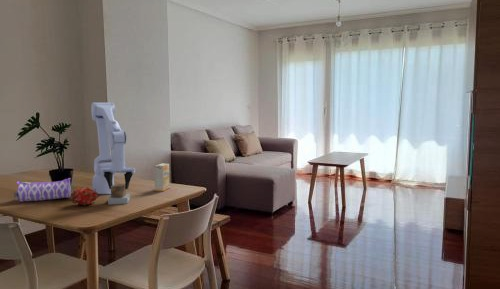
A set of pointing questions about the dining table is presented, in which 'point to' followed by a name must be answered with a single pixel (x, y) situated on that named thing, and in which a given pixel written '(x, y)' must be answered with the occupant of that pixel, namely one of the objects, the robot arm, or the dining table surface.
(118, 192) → the walnut cube
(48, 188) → the pencil case
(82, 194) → the dragon fruit
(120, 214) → the dining table surface
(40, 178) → the dining table surface
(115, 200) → the grey flat square block
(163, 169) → the supplement box
